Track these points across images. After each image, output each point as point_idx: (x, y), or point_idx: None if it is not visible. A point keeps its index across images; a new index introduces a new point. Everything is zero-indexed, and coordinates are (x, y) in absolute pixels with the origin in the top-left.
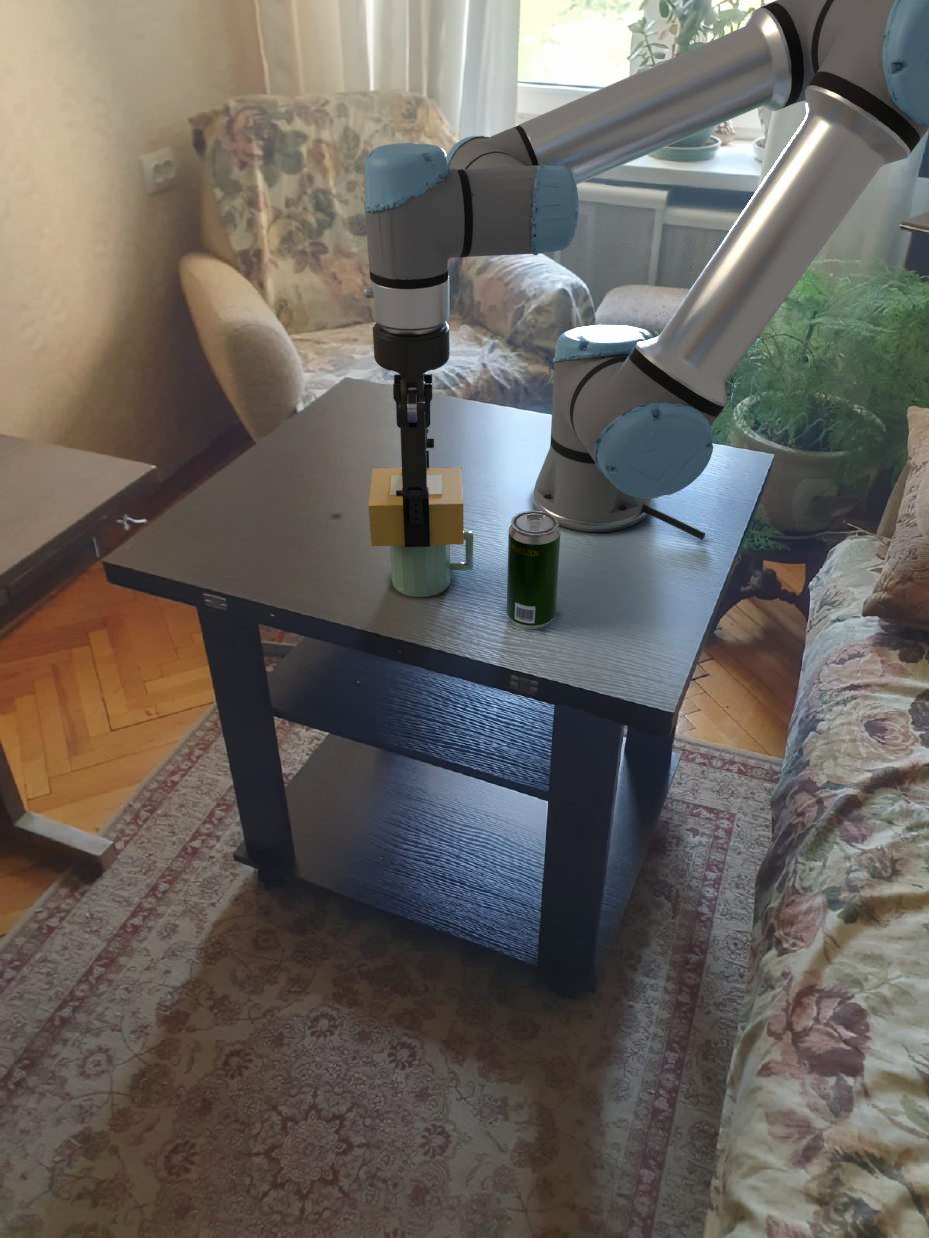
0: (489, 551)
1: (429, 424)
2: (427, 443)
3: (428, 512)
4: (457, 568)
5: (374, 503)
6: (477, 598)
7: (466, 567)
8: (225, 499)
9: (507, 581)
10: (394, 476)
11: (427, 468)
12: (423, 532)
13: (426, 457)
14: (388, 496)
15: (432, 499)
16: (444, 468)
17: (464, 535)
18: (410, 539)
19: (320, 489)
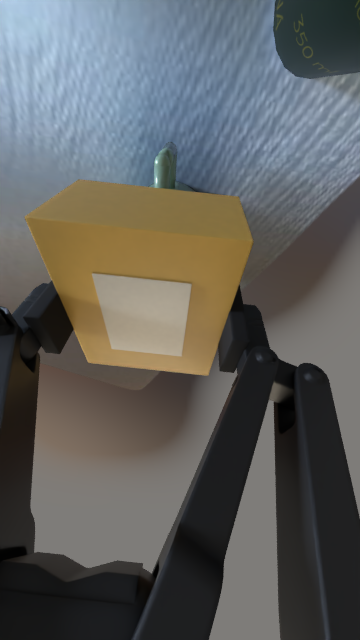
0: (81, 83)
1: (218, 589)
2: (6, 331)
3: (242, 306)
4: (175, 174)
5: (203, 370)
6: (226, 137)
7: (176, 157)
8: (52, 356)
9: (330, 73)
10: (113, 345)
11: (63, 296)
12: None
13: (47, 315)
14: (183, 356)
15: (209, 303)
16: (50, 262)
17: (167, 177)
18: None
19: (3, 305)
